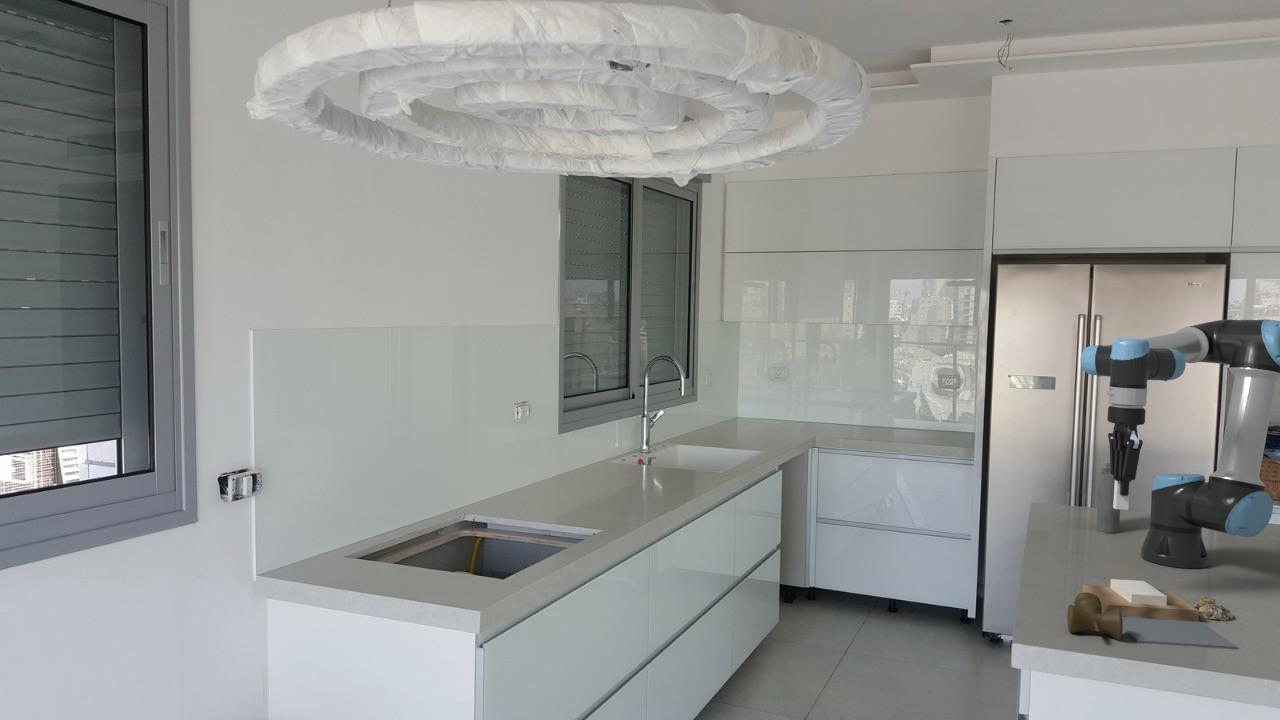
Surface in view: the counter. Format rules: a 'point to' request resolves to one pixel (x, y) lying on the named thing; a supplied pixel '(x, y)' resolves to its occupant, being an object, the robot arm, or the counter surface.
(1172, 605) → the tan wooden board
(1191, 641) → the mat
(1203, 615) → the mineral rock
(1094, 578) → the counter surface
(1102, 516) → the flask
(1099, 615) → the kendama
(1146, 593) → the stone tile
